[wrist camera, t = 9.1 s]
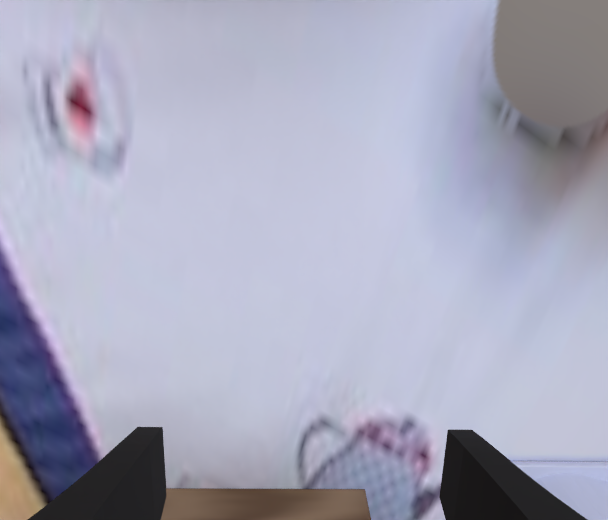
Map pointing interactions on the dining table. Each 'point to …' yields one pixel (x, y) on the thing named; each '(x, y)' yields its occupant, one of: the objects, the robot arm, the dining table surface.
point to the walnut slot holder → (265, 504)
